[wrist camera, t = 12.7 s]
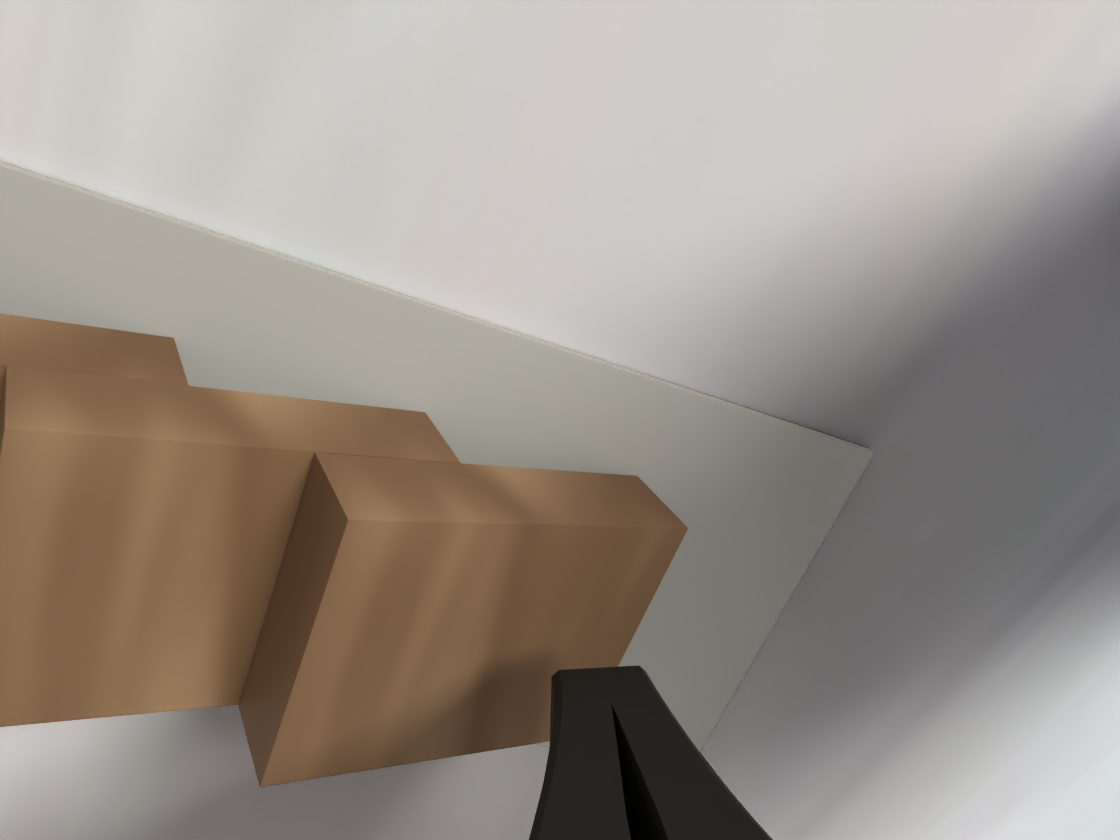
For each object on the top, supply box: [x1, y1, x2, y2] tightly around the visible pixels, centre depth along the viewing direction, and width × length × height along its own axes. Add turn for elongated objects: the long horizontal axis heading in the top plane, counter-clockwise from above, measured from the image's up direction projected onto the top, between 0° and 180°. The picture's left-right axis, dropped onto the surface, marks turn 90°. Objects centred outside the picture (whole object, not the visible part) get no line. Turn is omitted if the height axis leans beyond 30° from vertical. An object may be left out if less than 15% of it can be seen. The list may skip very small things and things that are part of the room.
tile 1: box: [239, 453, 688, 787], centre depth 14 cm, size 2×5×6 cm
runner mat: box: [0, 161, 874, 752], centre depth 15 cm, size 22×8×1 cm, turn 69°
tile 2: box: [0, 365, 460, 727], centre depth 13 cm, size 2×5×6 cm
